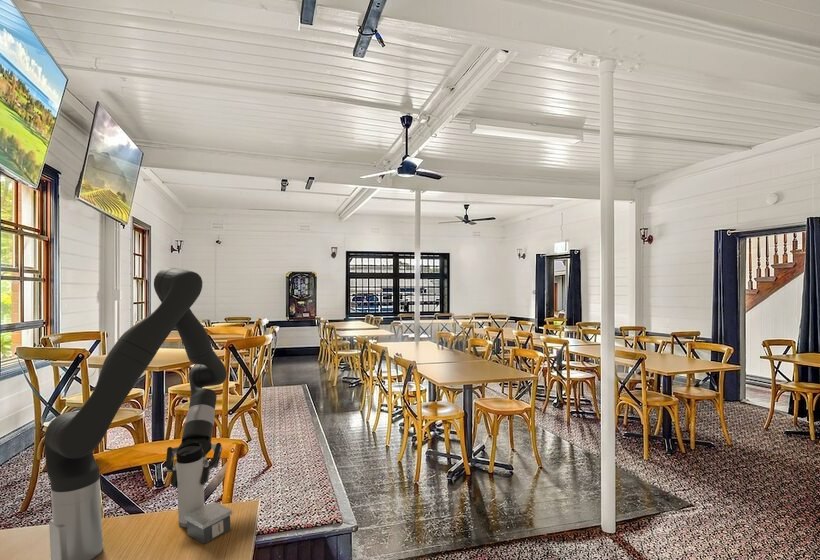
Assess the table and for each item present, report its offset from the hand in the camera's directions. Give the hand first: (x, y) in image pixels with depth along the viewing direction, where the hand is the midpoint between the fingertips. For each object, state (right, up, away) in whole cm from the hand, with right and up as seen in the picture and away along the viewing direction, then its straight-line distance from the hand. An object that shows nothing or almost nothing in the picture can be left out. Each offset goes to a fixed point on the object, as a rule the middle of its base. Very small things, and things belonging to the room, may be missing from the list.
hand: (189, 485), depth 120 cm
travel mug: (0, -10, +2) cm, 11 cm away
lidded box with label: (+7, -10, -4) cm, 13 cm away
